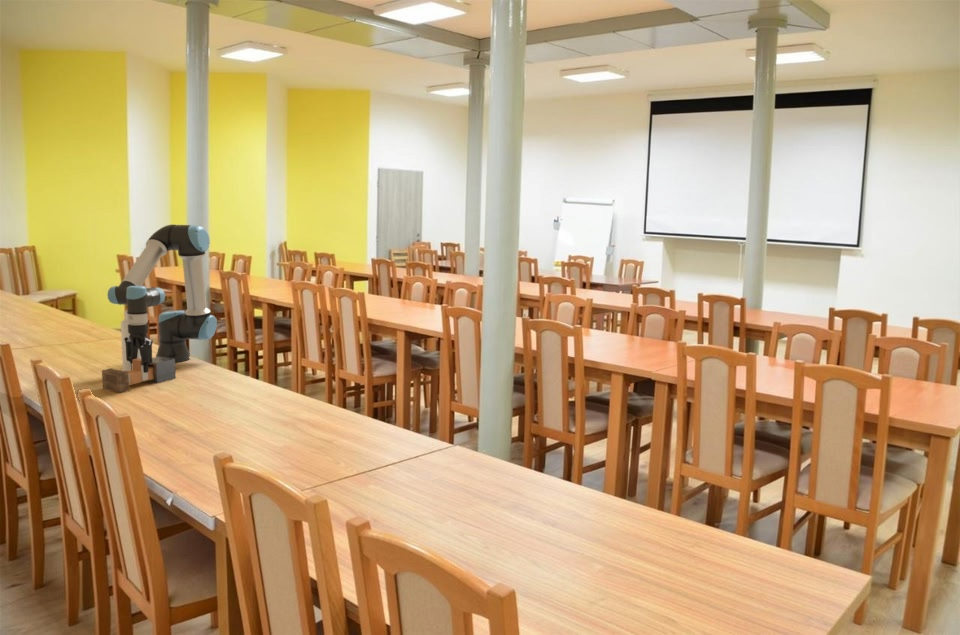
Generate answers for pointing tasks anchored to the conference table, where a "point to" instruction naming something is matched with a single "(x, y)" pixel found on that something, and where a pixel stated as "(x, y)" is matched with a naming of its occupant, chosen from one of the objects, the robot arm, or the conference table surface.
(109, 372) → the brown rectangular block
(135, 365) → the inner bar
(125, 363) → the bottle
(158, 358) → the sleeve
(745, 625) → the conference table surface
